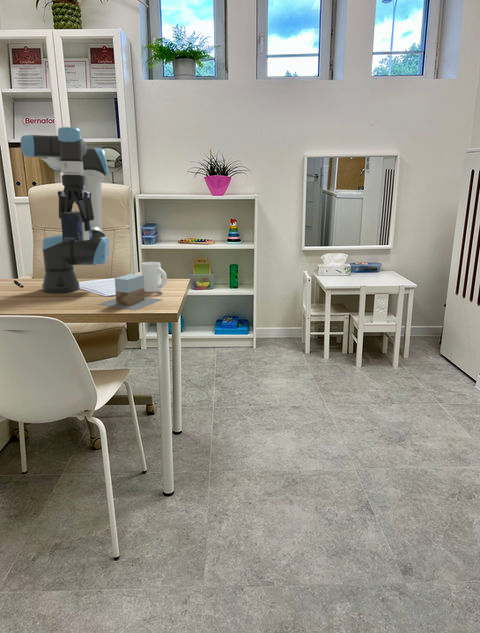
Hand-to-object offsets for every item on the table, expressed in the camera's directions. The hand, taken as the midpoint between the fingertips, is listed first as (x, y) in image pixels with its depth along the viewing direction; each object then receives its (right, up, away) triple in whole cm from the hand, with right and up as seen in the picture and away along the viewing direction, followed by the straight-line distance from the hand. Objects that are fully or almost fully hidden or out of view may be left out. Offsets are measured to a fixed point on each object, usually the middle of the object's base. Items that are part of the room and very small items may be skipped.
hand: (77, 239), depth 176 cm
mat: (+17, -23, +11) cm, 31 cm away
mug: (+23, -18, +30) cm, 42 cm away
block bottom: (+17, -23, +11) cm, 30 cm away
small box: (0, -1, 0) cm, 1 cm away
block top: (+17, -18, +9) cm, 26 cm away
